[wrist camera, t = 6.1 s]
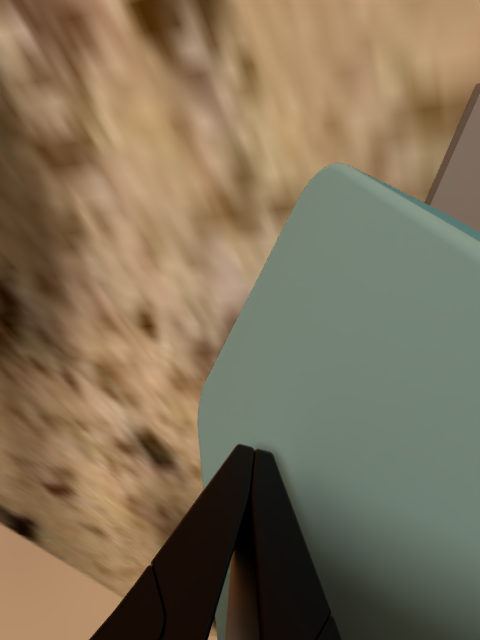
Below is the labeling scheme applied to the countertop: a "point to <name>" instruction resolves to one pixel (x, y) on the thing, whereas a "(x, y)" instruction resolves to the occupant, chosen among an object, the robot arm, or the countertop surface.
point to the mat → (461, 170)
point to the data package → (365, 403)
